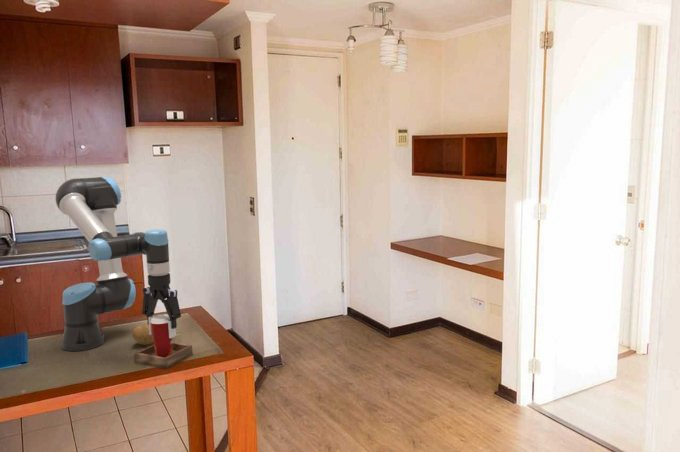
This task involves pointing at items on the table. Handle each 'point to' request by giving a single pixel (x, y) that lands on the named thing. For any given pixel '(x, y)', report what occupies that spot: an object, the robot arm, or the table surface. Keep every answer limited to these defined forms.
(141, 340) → the potato
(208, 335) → the table surface
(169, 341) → the paper cup
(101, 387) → the table surface
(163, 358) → the tray
